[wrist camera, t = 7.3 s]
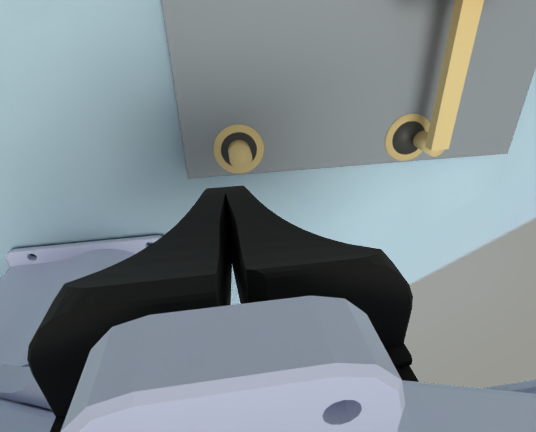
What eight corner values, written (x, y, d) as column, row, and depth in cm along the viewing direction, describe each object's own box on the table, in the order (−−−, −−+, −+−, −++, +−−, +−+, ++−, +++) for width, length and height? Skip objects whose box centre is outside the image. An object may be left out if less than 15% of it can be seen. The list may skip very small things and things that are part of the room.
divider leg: (379, 150, 20) (405, 170, 17) (419, -148, 14) (470, -190, 11) (459, 144, 21) (496, 163, 18) (531, -145, 15) (605, -183, 12)
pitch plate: (188, 171, 21) (186, 189, 18) (140, -157, 14) (128, -191, 12) (496, 148, 23) (526, 161, 21) (585, -144, 16) (644, -170, 14)
